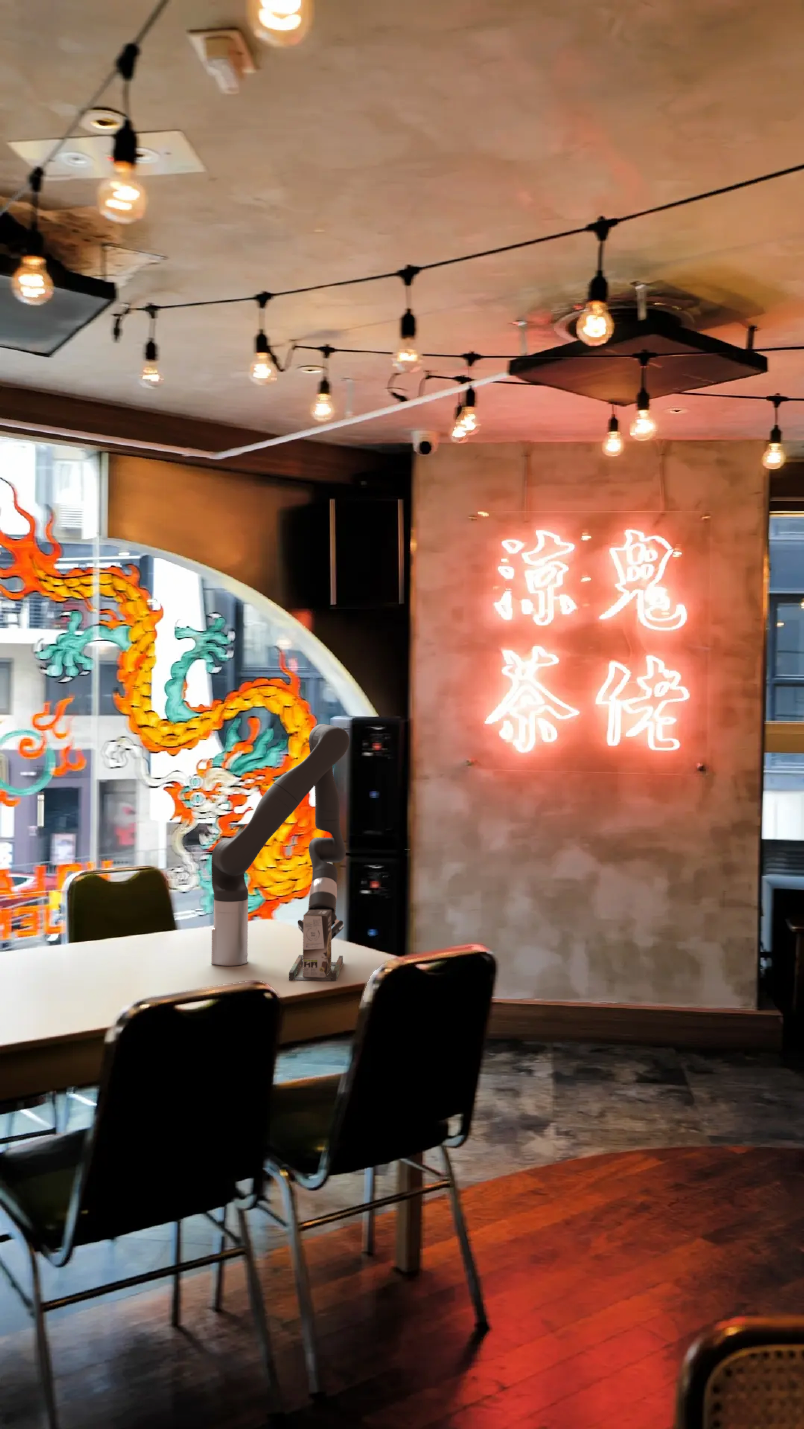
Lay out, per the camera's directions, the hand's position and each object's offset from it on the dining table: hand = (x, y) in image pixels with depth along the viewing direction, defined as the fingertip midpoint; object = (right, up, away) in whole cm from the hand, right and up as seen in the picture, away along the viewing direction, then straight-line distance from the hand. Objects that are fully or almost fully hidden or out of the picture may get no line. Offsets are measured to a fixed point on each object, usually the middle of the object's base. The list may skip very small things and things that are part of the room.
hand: (318, 952), depth 300 cm
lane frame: (0, -4, -2) cm, 5 cm away
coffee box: (0, -5, -5) cm, 7 cm away
